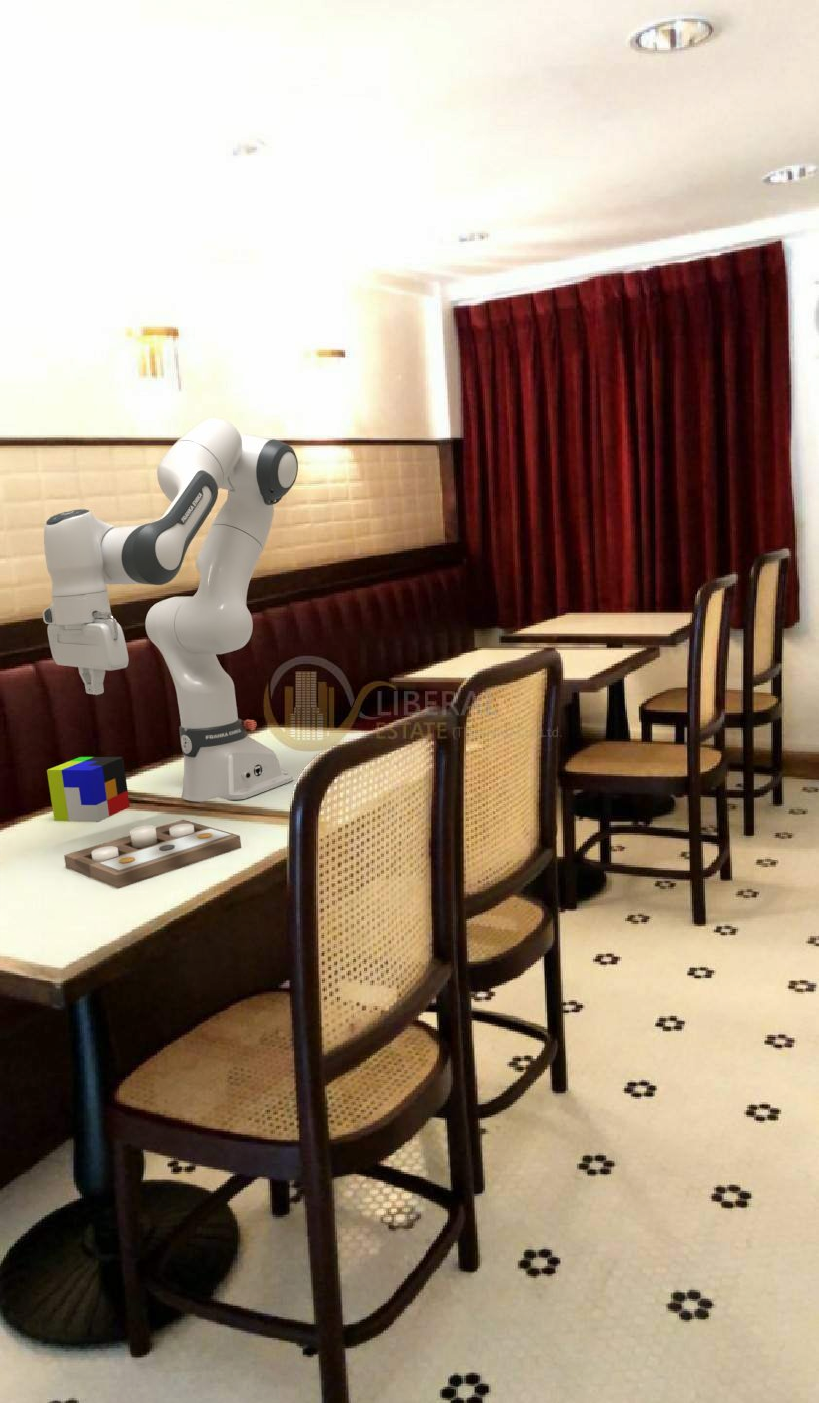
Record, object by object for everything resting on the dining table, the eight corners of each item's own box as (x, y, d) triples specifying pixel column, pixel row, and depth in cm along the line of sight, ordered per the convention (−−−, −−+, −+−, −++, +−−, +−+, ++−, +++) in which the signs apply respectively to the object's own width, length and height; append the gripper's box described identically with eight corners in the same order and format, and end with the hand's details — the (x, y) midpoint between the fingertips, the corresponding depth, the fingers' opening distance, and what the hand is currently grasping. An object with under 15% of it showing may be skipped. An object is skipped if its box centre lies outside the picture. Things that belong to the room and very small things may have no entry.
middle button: (149, 838, 179) (147, 824, 178) (162, 842, 176) (160, 828, 175) (127, 845, 176) (125, 830, 175) (140, 849, 173) (138, 834, 173)
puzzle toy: (98, 822, 202) (91, 770, 200) (54, 821, 206) (46, 769, 204) (129, 807, 211) (123, 757, 209) (87, 806, 215) (80, 757, 213)
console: (185, 836, 188) (183, 816, 187) (241, 853, 176) (239, 832, 175) (66, 873, 173) (63, 852, 173) (119, 894, 161) (116, 872, 160)
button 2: (187, 836, 184) (185, 822, 183) (200, 840, 181) (198, 826, 180) (166, 842, 181) (164, 828, 180) (179, 847, 178) (177, 832, 178)
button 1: (112, 859, 174) (109, 844, 174) (124, 864, 171) (122, 849, 171) (89, 866, 172) (86, 851, 171) (101, 871, 169) (99, 856, 168)
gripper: (131, 609, 173) (143, 694, 175) (72, 607, 188) (84, 686, 190) (95, 615, 169) (108, 702, 171) (37, 612, 183) (50, 693, 186)
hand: (95, 693), depth 181 cm, fingers closed
